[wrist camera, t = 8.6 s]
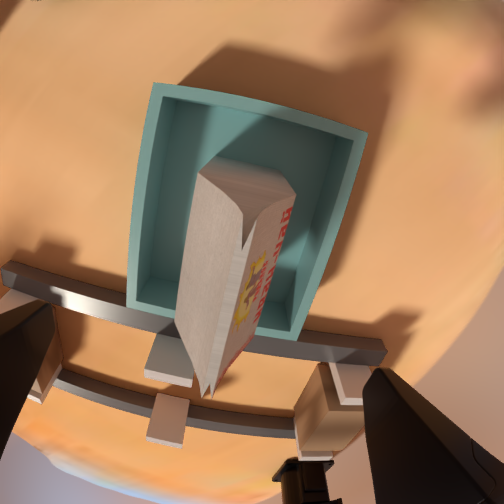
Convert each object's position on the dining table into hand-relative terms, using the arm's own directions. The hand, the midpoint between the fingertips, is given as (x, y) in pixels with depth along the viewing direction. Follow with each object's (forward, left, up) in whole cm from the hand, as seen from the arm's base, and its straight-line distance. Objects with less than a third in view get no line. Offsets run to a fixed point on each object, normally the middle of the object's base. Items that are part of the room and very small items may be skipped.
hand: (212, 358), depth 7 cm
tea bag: (0, 0, -12) cm, 12 cm away
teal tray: (+1, 0, -12) cm, 12 cm away
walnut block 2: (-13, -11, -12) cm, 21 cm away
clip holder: (-13, +2, -12) cm, 18 cm away
